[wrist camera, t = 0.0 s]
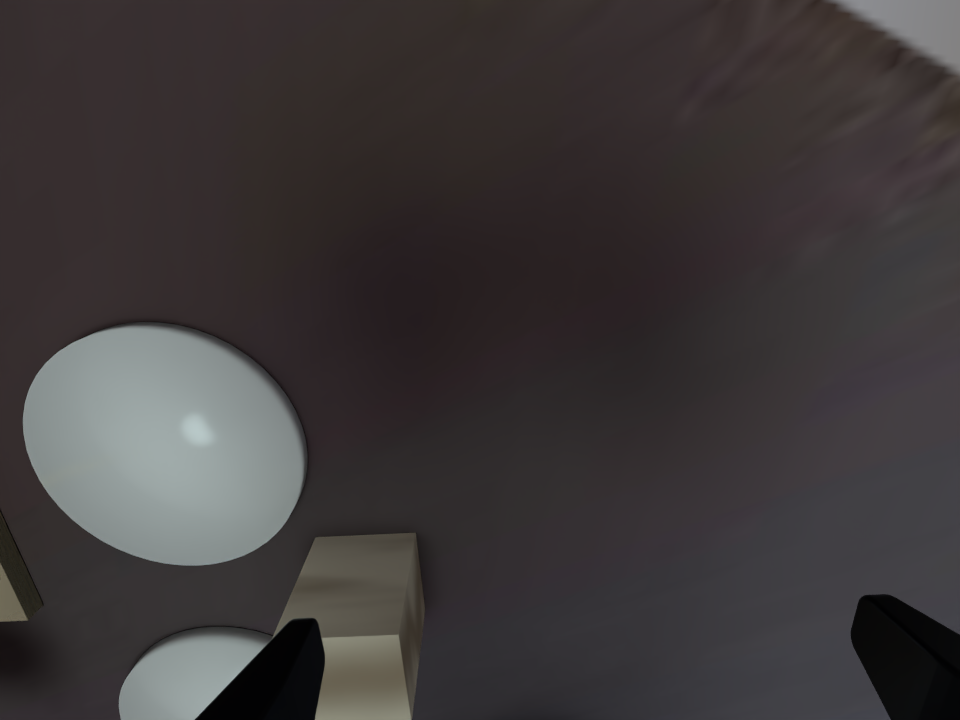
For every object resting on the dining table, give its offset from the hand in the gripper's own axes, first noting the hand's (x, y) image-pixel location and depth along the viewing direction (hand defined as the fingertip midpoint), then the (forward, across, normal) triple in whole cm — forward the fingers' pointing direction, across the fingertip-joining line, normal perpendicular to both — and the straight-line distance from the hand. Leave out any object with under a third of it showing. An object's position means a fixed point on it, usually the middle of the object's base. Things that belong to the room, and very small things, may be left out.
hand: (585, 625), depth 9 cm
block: (+15, +8, +12) cm, 21 cm away
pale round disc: (+15, +16, +4) cm, 22 cm away
